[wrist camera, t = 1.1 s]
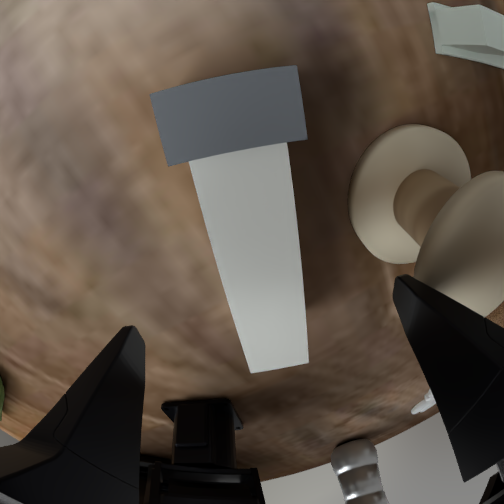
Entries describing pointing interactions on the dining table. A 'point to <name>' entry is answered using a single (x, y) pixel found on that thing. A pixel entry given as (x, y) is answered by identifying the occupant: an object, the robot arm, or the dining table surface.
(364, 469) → the plastic bottle
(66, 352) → the dining table surface
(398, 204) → the bobbin
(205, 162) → the mallet
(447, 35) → the notched board
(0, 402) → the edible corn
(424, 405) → the acanthus leaf ornament
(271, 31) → the dining table surface
